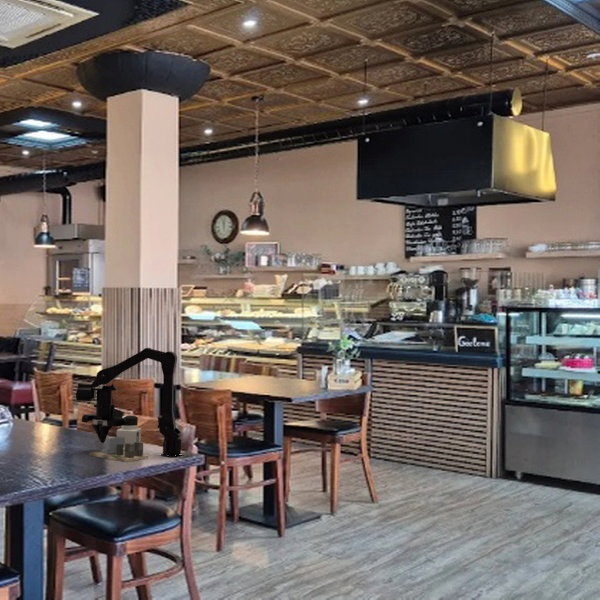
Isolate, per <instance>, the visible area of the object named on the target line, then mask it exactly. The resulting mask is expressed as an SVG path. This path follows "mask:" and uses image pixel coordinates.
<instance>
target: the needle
mask: <svg viewBox="0 0 600 600" xmlns="http://www.w3.org/2000/svg"><path fill="white" fill-rule="evenodd" d="M117 455H118V456H122V455H123V444H117Z"/></svg>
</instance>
